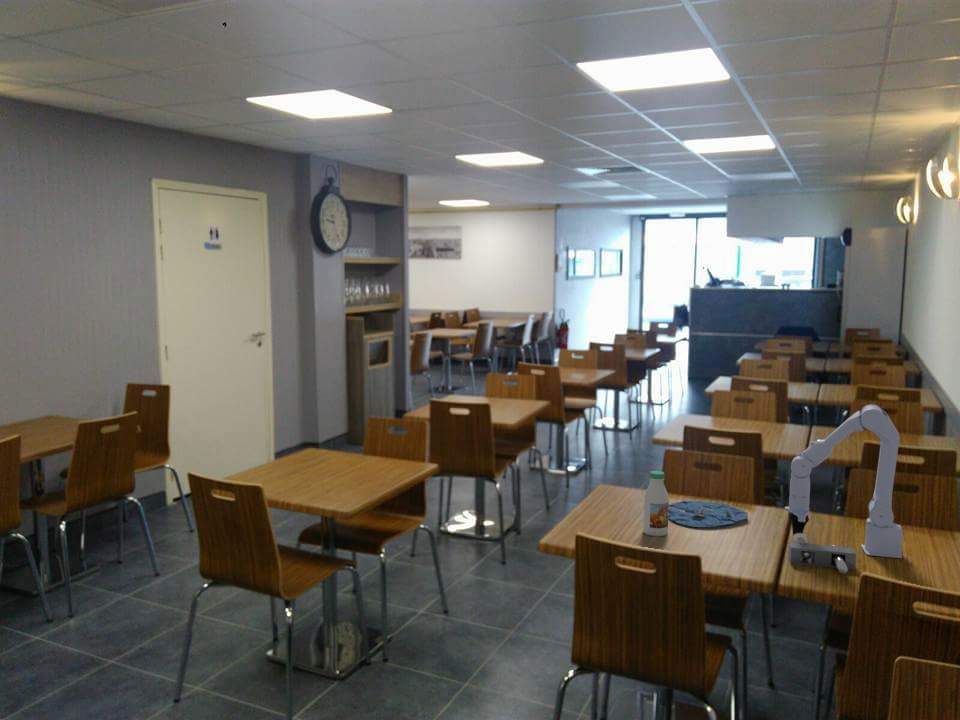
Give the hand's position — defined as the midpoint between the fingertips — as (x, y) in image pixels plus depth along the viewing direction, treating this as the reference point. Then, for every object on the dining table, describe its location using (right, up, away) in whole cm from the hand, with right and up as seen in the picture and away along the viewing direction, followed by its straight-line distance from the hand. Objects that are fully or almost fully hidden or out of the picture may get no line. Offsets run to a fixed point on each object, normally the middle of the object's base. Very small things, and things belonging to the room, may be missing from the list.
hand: (797, 537), depth 232 cm
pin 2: (+2, -4, -22) cm, 22 cm away
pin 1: (-3, -2, -12) cm, 12 cm away
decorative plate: (-22, +1, +24) cm, 33 cm away
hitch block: (-1, -3, -18) cm, 18 cm away
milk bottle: (-43, -1, +7) cm, 43 cm away
